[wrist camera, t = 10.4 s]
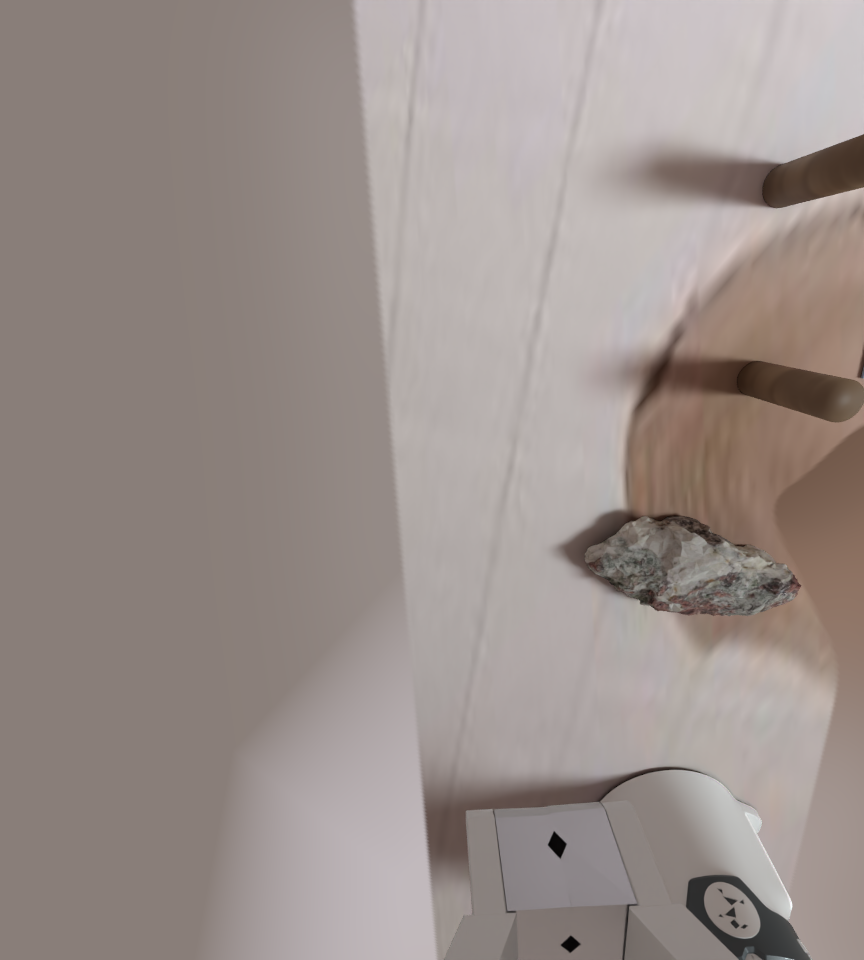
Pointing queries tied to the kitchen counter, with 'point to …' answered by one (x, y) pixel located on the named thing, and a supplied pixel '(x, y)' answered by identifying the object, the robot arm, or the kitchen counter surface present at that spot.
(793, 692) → the kitchen counter surface
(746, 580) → the mineral rock
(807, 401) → the post
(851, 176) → the post
